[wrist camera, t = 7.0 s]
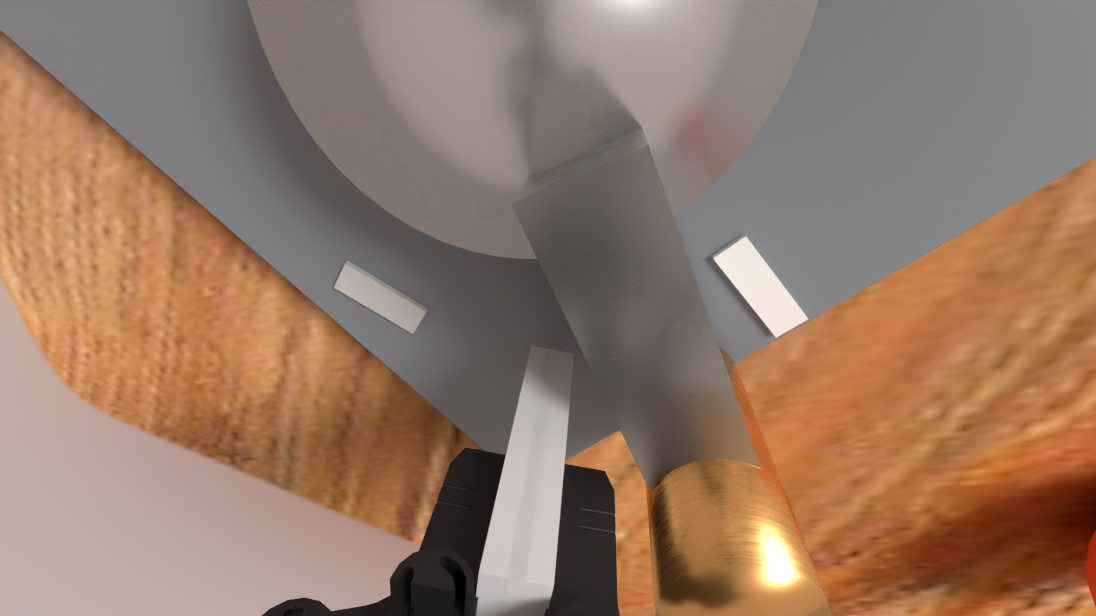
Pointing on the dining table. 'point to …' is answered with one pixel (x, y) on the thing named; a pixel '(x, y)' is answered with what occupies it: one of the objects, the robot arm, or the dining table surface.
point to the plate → (704, 225)
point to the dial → (585, 217)
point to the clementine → (1092, 566)
